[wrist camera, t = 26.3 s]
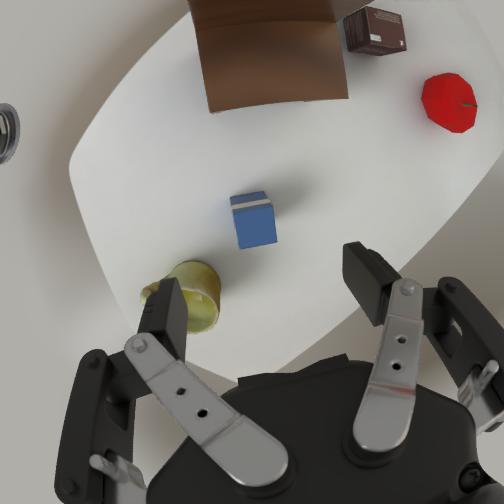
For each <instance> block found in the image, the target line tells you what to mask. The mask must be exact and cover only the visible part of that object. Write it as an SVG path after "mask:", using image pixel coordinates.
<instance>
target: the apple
mask: <svg viewBox="0 0 504 504" xmlns="http://www.w3.org/2000/svg"><path fill="white" fill-rule="evenodd" d="M421 99H422V102H423V104H424V107H425V110H426V113H427V116H428V118H429V119H431V120H432V121H434V122H435V123H436V124H438V125H440V126H442V127H443V128H445V129H447V130H449V131H451V132H452V133H463V132H465V131H466V130H468V129H470V128H471V127H473V126H474V123H475V118H476V112H477V103H476V100H475V96H474V93H473V90H472V87H471V85H469V84H468V83H467V82H466V81H465V80H464V79H463V78H462V77H460V76H459V75H458V74H453V73H444V74H440V75H437V76H433V77H431V78H430V79H428V80H427V81H425V84H424V89H423V94H422V98H421Z"/></svg>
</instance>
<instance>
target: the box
mask: <svg viewBox="0 0 504 504" xmlns="http://www.w3.org/2000/svg"><path fill="white" fill-rule="evenodd" d="M343 21H344V27H345V33H346V40H347V49H348V51H349V52H357V53H364V54H371V55H377V56H383V55H387V54H392V53H397V52H402V51H406V50H407V48H406V42H405V36H404V29H403V24H402V18H401V15H398V14H395V13H392V12H388V11H384V10H381V9H377V8H372V7H368V6H365V7H363V8H361V9H360V10H358V11H356V12H354V13H352V14H350V15H349V16H347V17H345V18H344V19H343Z"/></svg>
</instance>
